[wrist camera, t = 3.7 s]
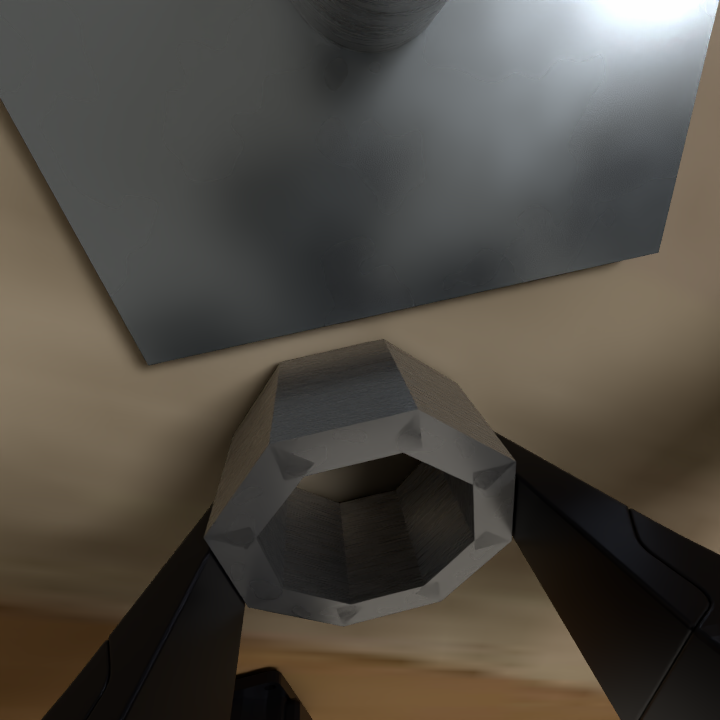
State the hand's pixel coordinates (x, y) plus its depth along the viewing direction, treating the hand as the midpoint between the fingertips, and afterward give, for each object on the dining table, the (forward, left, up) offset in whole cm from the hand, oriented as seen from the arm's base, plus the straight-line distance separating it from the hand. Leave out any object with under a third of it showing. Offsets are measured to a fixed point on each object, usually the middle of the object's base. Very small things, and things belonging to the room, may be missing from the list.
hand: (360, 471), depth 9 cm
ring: (0, 0, -1) cm, 1 cm away
